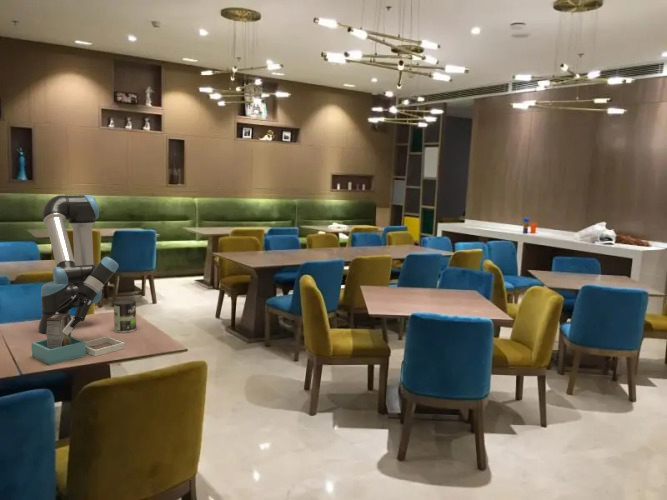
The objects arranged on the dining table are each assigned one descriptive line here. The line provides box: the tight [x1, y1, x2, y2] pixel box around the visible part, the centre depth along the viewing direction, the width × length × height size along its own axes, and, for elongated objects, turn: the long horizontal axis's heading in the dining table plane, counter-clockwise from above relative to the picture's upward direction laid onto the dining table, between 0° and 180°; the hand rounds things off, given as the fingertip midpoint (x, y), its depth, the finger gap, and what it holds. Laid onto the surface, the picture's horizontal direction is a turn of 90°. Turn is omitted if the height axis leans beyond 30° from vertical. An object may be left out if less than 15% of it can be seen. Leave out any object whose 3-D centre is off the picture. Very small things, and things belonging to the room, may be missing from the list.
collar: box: [84, 336, 126, 357], centre depth 244 cm, size 14×14×2 cm
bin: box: [31, 335, 87, 366], centre depth 233 cm, size 15×15×6 cm
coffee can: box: [113, 298, 137, 334], centre depth 272 cm, size 10×10×14 cm
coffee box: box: [46, 313, 72, 349], centre depth 232 cm, size 9×6×16 cm
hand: (56, 330), depth 231 cm, fingers open, 13 cm apart
